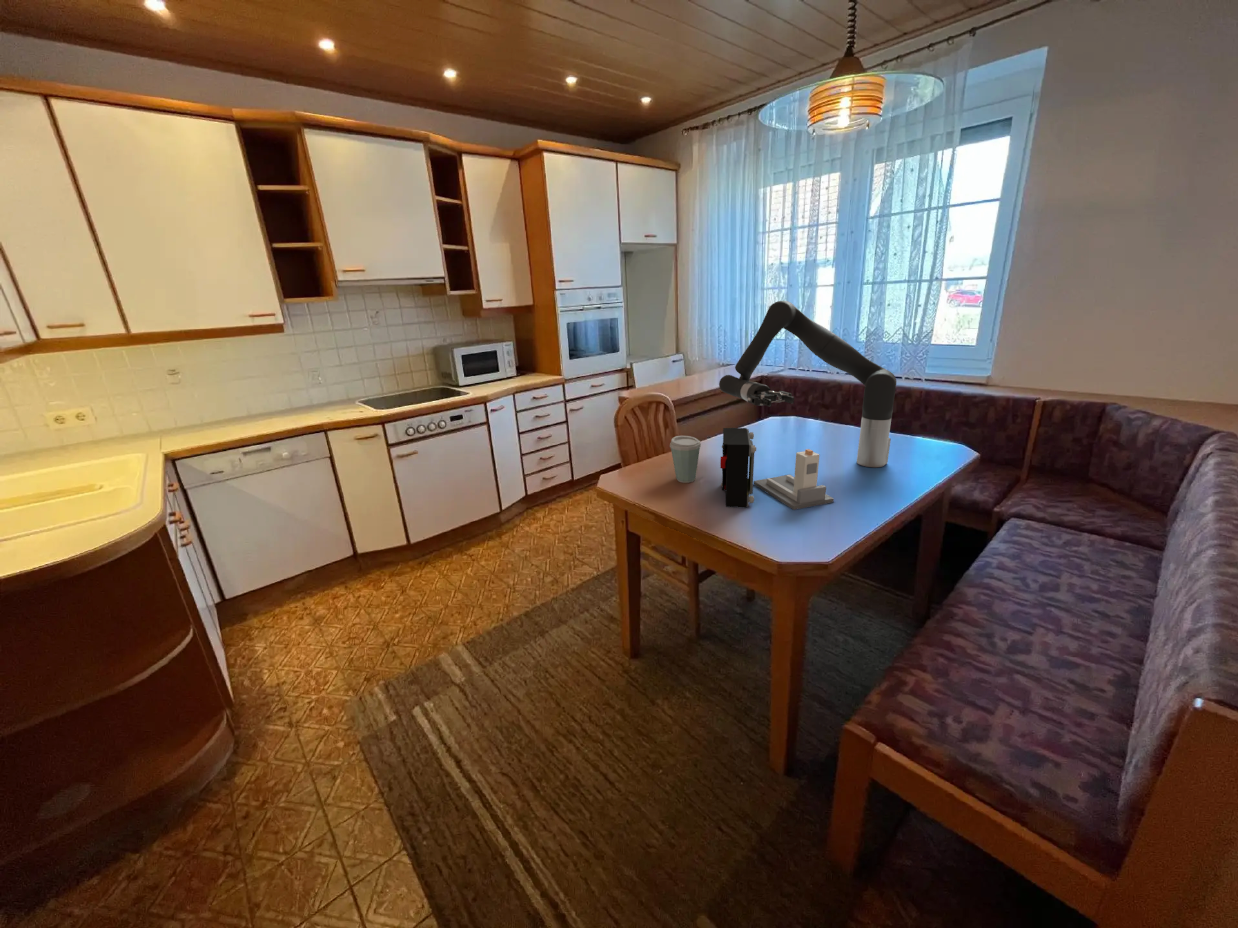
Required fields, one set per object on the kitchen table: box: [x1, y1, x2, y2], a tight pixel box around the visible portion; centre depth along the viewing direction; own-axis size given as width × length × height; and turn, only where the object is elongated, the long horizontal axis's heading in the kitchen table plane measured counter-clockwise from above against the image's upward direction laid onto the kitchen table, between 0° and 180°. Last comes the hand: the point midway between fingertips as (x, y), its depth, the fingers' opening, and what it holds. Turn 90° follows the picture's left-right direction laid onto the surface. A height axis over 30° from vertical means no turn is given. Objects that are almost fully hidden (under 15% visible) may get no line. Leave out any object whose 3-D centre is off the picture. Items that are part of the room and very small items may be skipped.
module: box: [793, 448, 820, 494], centre depth 148 cm, size 5×5×15 cm
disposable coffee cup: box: [669, 435, 701, 484], centre depth 169 cm, size 11×11×15 cm
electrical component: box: [719, 427, 757, 509], centre depth 154 cm, size 18×10×20 cm, turn 168°
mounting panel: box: [753, 474, 835, 511], centre depth 156 cm, size 14×22×5 cm, turn 17°
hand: (781, 402), depth 163 cm, fingers open, 8 cm apart
